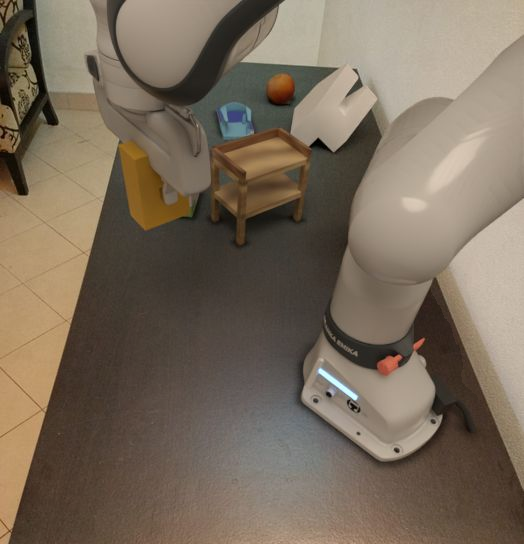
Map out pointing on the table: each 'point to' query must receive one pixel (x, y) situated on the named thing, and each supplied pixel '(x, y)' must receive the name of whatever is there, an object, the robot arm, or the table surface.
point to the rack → (258, 175)
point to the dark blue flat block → (234, 118)
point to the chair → (235, 129)
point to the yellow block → (147, 190)
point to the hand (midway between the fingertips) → (158, 190)
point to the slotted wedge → (332, 110)
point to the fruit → (280, 89)
